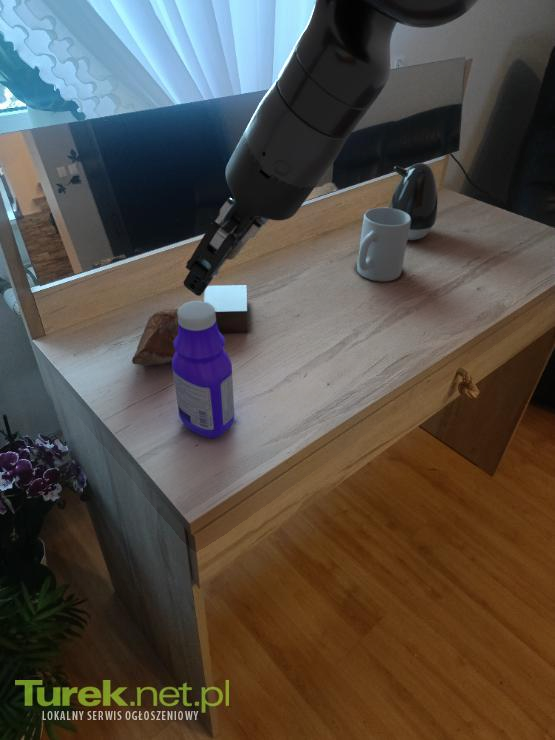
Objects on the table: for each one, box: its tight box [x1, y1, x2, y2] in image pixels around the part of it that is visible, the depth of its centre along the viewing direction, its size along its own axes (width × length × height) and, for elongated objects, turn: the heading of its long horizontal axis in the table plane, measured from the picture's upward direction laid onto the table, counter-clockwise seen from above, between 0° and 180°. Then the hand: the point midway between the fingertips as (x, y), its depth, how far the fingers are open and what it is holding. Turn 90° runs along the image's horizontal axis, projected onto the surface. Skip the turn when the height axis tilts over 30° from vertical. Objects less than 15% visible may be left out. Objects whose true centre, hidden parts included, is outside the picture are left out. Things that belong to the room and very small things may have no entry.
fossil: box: [131, 308, 179, 366], centre depth 73 cm, size 13×8×10 cm
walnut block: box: [203, 284, 249, 333], centre depth 81 cm, size 7×8×4 cm
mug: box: [356, 207, 411, 282], centre depth 91 cm, size 12×8×11 cm
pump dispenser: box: [388, 162, 438, 241], centre depth 104 cm, size 10×10×15 cm
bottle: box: [171, 300, 235, 439], centre depth 59 cm, size 7×6×17 cm
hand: (211, 268), depth 54 cm, fingers open, 8 cm apart
